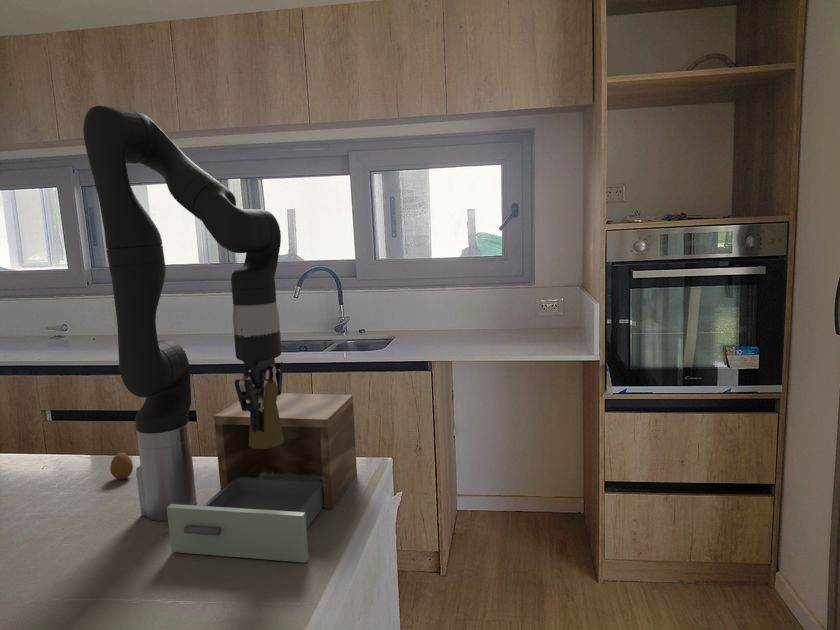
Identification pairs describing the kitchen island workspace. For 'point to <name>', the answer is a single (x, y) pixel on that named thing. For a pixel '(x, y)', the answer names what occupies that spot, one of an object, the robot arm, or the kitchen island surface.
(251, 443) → the olive tall rounded piece
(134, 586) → the kitchen island surface
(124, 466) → the egg
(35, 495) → the kitchen island surface
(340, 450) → the cabinet
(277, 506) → the drawer
